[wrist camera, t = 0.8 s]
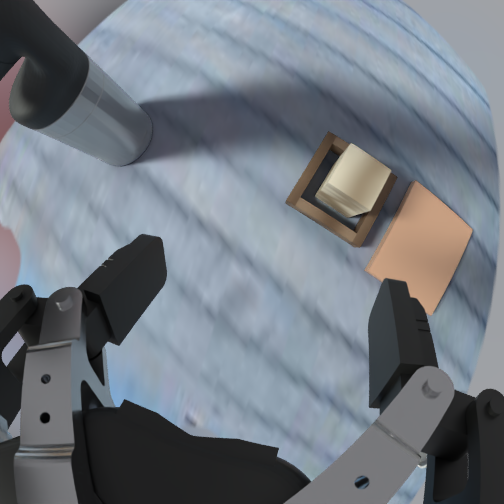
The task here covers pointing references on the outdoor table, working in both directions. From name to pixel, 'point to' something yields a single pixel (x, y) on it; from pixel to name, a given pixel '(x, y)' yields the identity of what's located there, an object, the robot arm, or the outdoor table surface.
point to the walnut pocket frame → (321, 217)
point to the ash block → (353, 182)
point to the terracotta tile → (421, 246)
